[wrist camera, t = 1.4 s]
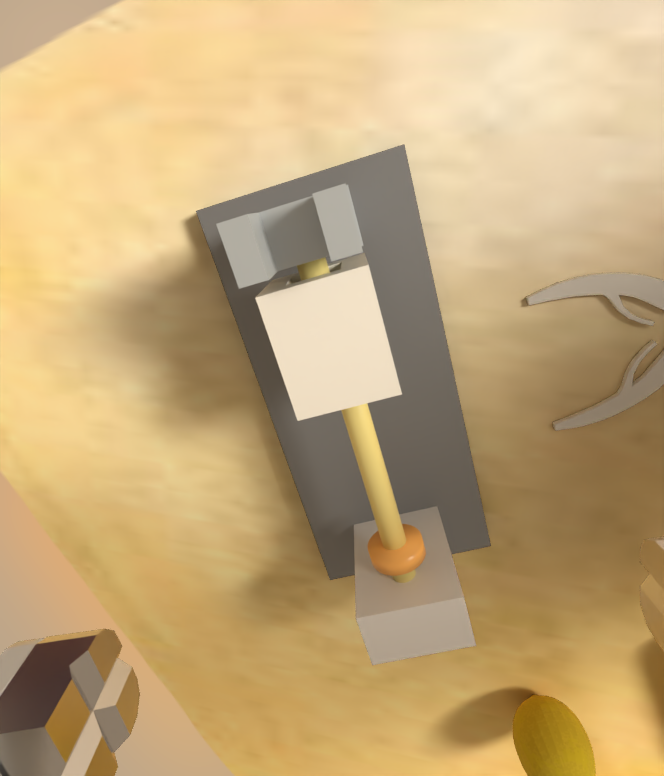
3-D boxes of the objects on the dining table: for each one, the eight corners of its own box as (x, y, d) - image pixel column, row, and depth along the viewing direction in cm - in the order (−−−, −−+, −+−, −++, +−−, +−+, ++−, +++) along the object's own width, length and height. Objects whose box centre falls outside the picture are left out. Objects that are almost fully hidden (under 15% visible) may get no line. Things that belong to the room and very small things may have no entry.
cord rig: (401, 146, 27) (440, 108, 16) (486, 535, 36) (548, 684, 25) (201, 210, 29) (109, 216, 18) (330, 568, 38) (323, 723, 27)
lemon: (563, 668, 41) (612, 772, 33) (569, 713, 43) (616, 822, 35) (496, 678, 41) (529, 783, 34) (505, 722, 43) (538, 831, 36)
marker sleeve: (364, 252, 25) (368, 264, 20) (392, 360, 27) (402, 394, 22) (271, 280, 26) (255, 297, 21) (305, 383, 28) (297, 421, 23)
